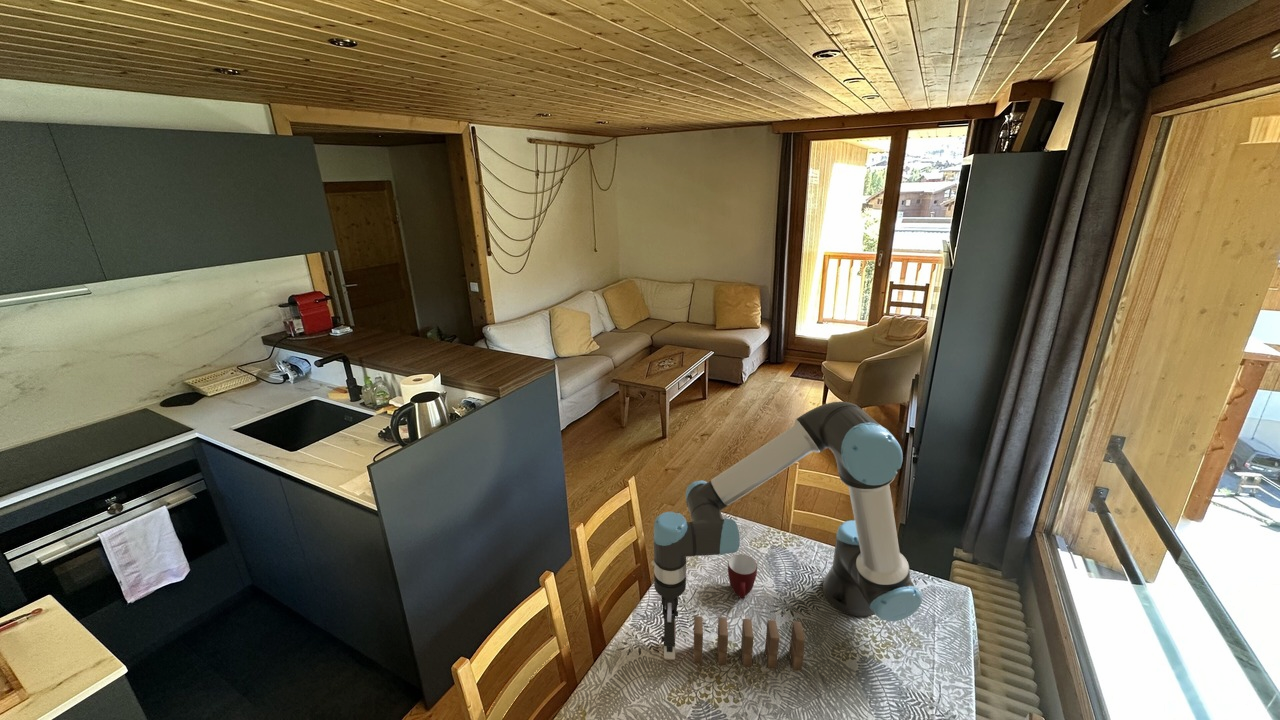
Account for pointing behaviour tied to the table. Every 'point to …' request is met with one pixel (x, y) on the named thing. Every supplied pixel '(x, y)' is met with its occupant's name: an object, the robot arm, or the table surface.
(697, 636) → the domino
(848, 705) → the table surface
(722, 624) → the domino
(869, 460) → the robot arm
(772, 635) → the domino
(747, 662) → the domino
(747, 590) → the mug
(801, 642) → the domino
